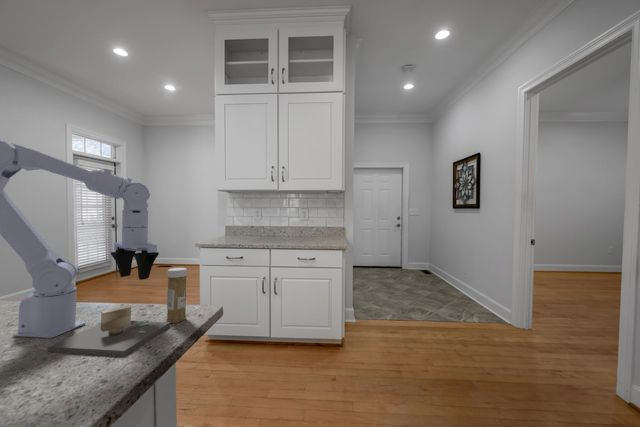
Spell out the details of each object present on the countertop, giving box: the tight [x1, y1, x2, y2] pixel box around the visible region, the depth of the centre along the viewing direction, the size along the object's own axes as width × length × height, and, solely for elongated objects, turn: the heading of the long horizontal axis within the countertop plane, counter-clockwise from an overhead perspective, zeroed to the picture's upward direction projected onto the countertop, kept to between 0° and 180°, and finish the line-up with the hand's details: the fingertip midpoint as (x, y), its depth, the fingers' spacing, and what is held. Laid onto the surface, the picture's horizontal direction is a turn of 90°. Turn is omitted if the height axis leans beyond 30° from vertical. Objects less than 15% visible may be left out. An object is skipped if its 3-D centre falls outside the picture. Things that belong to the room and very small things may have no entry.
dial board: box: [47, 320, 171, 357], centre depth 59 cm, size 16×14×1 cm
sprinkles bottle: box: [166, 267, 188, 324], centre depth 69 cm, size 5×5×13 cm
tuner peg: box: [100, 305, 150, 334], centre depth 60 cm, size 9×3×5 cm, turn 142°
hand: (134, 277), depth 71 cm, fingers open, 7 cm apart
